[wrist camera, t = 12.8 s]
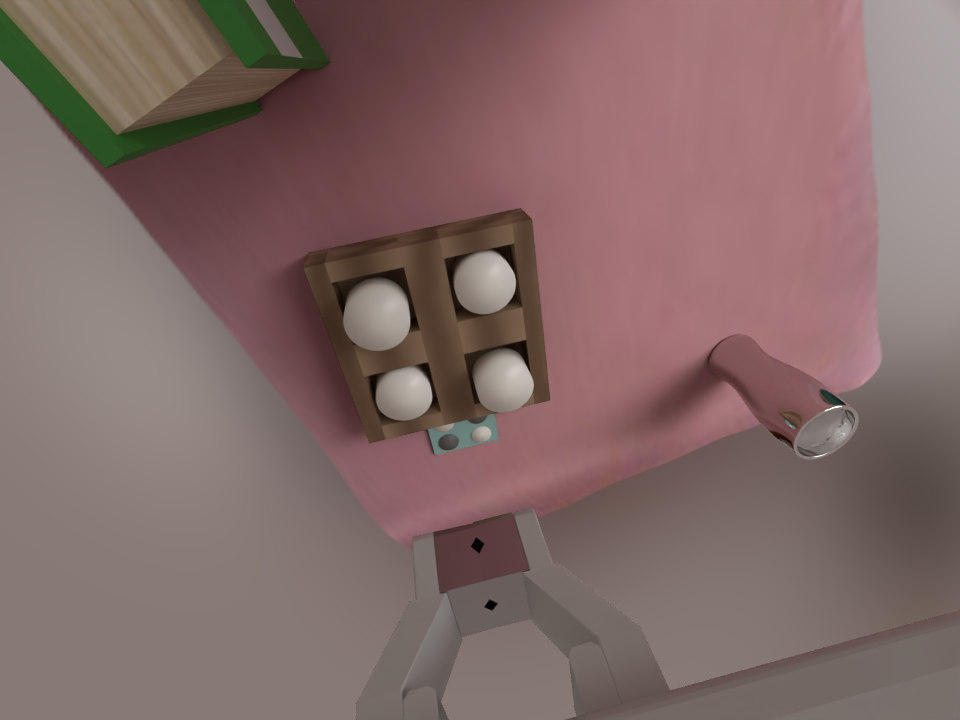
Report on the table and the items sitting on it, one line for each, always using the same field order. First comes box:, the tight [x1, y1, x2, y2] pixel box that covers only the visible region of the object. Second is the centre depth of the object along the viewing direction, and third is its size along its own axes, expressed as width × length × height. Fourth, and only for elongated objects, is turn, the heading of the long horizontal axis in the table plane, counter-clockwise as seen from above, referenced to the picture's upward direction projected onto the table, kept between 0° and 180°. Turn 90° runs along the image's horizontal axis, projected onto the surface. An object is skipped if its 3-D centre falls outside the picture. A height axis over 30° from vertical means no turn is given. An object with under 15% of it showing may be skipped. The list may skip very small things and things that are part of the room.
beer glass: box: [709, 334, 859, 459], centre depth 53 cm, size 7×7×15 cm
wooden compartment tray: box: [303, 208, 550, 443], centre depth 48 cm, size 20×20×4 cm
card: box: [428, 414, 499, 455], centre depth 57 cm, size 8×6×1 cm
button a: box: [451, 248, 516, 314], centre depth 45 cm, size 6×6×3 cm
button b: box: [343, 277, 410, 351], centre depth 43 cm, size 6×6×3 cm
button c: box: [472, 347, 534, 413], centre depth 49 cm, size 6×6×3 cm
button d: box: [376, 364, 432, 421], centre depth 50 cm, size 6×6×3 cm
